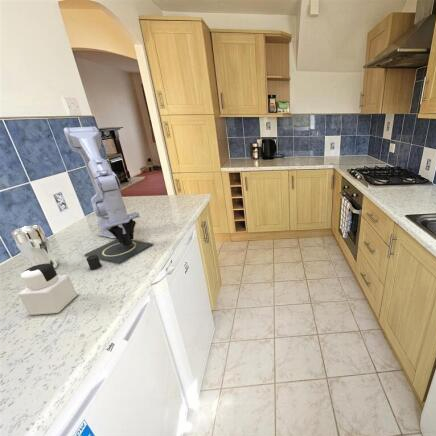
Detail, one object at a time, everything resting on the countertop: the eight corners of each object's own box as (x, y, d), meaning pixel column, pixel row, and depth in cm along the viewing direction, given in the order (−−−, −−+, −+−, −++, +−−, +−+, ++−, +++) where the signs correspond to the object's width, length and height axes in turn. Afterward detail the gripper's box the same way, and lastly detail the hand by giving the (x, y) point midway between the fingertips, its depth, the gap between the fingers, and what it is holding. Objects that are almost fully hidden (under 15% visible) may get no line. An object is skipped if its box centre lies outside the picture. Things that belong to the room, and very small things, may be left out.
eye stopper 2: (121, 245, 93) (118, 236, 92) (128, 241, 96) (125, 232, 94) (127, 246, 92) (124, 237, 91) (134, 242, 95) (131, 233, 93)
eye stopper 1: (88, 269, 82) (84, 258, 80) (97, 264, 85) (93, 254, 83) (94, 270, 81) (90, 260, 79) (103, 265, 84) (99, 255, 82)
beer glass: (64, 264, 85) (46, 225, 79) (39, 276, 79) (18, 235, 73) (51, 261, 87) (32, 223, 81) (26, 272, 81) (4, 232, 75)
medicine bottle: (52, 296, 69) (33, 261, 65) (78, 294, 70) (61, 259, 65) (29, 315, 63) (7, 277, 58) (58, 313, 63) (38, 275, 59)
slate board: (85, 255, 90) (84, 253, 90) (120, 238, 102) (120, 237, 102) (119, 264, 84) (118, 262, 84) (152, 245, 96) (152, 243, 96)
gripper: (103, 216, 81) (116, 251, 86) (141, 202, 93) (150, 234, 99) (89, 214, 83) (102, 248, 88) (128, 201, 96) (137, 231, 101)
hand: (126, 241), depth 94 cm, fingers closed on eye stopper 2, 3 cm apart
